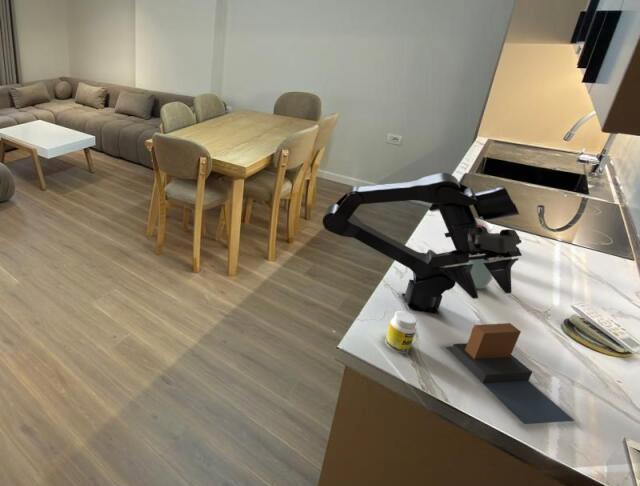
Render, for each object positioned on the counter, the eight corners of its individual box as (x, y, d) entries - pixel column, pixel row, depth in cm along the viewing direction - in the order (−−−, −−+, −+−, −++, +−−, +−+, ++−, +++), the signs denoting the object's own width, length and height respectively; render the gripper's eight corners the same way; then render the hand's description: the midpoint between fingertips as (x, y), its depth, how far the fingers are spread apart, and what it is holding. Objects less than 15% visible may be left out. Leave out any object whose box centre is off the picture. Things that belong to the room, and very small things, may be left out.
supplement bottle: (401, 357, 87) (410, 327, 85) (380, 342, 91) (388, 313, 88) (413, 349, 90) (423, 320, 87) (392, 335, 93) (400, 306, 91)
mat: (444, 348, 90) (445, 346, 89) (486, 346, 90) (486, 344, 90) (523, 425, 73) (524, 423, 73) (573, 422, 73) (574, 420, 73)
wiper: (450, 352, 88) (462, 318, 85) (492, 349, 89) (506, 316, 85) (482, 383, 81) (497, 348, 77) (528, 380, 81) (545, 345, 78)
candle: (477, 234, 135) (482, 218, 133) (493, 248, 127) (499, 231, 125) (447, 231, 137) (452, 215, 135) (461, 245, 129) (467, 228, 127)
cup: (489, 296, 106) (501, 265, 102) (452, 285, 110) (463, 255, 107) (487, 281, 112) (498, 251, 108) (452, 271, 116) (462, 242, 112)
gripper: (462, 220, 82) (496, 298, 77) (530, 214, 86) (567, 287, 80) (417, 231, 92) (445, 301, 87) (480, 225, 96) (510, 291, 91)
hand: (492, 295), depth 86 cm, fingers open, 9 cm apart
